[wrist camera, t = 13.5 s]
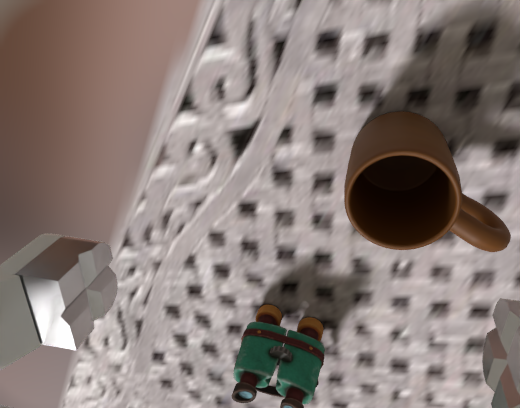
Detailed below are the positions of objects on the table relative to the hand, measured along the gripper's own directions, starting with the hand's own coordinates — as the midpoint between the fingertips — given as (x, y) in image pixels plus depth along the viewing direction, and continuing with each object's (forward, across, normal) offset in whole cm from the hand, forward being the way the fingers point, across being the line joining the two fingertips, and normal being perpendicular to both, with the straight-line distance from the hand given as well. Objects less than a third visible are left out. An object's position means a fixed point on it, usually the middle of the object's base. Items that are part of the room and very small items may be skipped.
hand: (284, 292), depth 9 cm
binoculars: (+29, +5, +30) cm, 42 cm away
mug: (+29, -6, +8) cm, 31 cm away
